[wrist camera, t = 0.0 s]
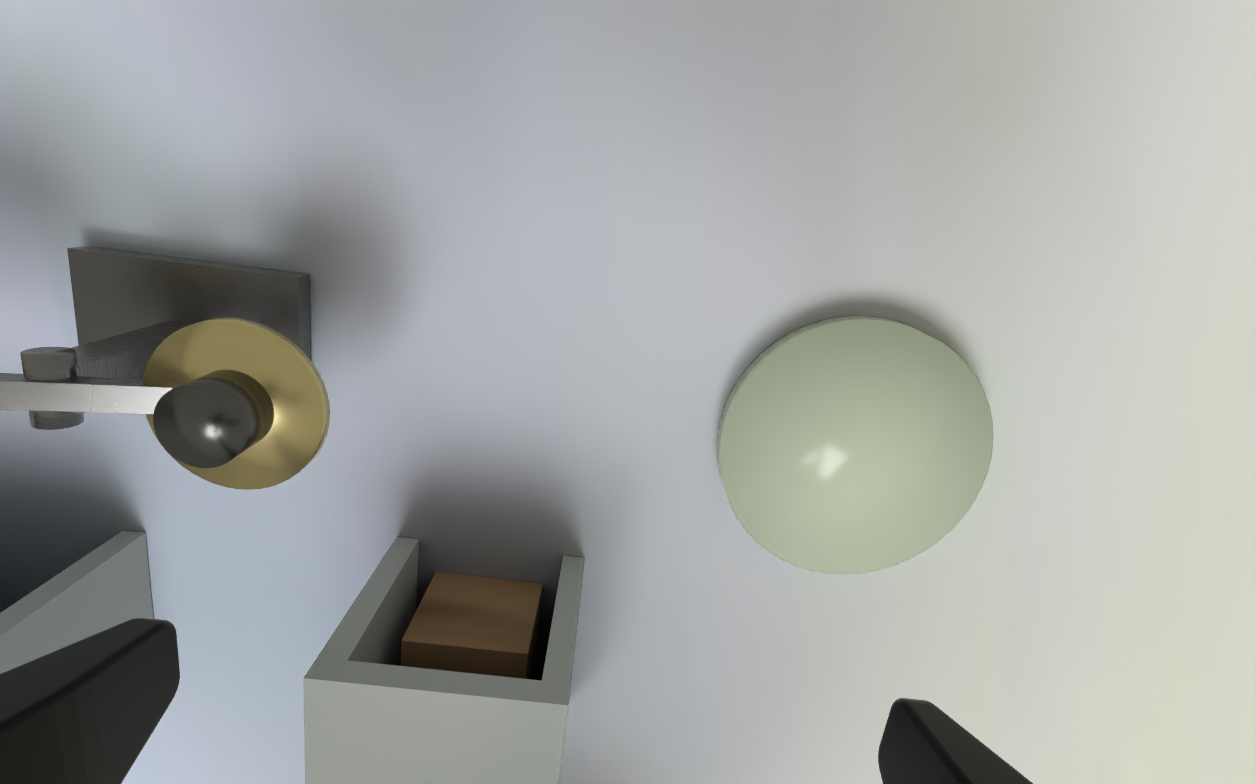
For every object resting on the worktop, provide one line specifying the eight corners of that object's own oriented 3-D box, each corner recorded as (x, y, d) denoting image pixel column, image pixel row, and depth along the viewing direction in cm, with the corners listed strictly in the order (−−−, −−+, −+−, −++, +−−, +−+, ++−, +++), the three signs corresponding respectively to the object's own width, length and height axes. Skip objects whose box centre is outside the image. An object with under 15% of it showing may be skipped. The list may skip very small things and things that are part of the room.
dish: (935, 568, 24) (951, 587, 23) (697, 541, 24) (701, 559, 23) (1007, 333, 22) (1028, 341, 21) (741, 299, 21) (748, 305, 20)
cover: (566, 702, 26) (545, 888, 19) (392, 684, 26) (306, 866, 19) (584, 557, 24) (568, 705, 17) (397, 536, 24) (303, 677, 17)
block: (533, 669, 26) (517, 752, 22) (431, 658, 26) (398, 740, 22) (542, 582, 25) (527, 653, 21) (436, 570, 25) (401, 640, 21)
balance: (399, 429, 23) (278, 555, 15) (13, 384, 22) (-324, 489, 14) (403, 286, 21) (272, 342, 13) (-10, 233, 21) (-398, 259, 13)
